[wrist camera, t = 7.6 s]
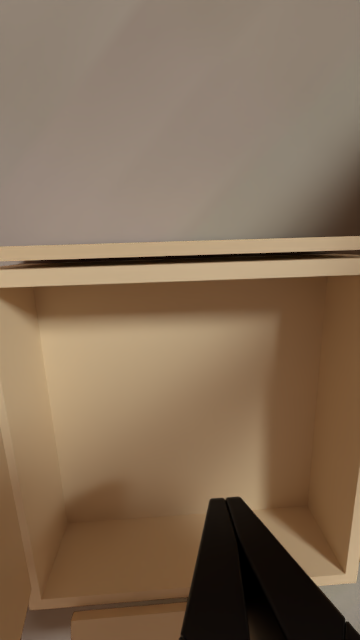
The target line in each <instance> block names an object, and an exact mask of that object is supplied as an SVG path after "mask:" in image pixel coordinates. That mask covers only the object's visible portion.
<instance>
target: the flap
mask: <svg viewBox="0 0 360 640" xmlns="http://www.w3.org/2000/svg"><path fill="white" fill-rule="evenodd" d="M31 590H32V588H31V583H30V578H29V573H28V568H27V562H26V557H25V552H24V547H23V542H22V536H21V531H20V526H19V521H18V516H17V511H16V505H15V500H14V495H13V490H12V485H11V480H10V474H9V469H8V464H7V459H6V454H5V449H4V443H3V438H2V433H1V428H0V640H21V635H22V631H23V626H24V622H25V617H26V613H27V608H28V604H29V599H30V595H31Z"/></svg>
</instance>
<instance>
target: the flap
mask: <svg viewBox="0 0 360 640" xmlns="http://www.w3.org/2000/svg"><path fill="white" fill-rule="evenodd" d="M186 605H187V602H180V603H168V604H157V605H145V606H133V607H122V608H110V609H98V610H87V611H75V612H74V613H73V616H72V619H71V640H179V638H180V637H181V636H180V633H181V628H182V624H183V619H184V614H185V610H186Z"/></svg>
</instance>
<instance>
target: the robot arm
mask: <svg viewBox="0 0 360 640" xmlns="http://www.w3.org/2000/svg"><path fill="white" fill-rule="evenodd" d="M180 636H181V637H180V638H179V640H360V635H359V633H358V632H357V631H356V630H355V629H354V628H353V626H352V625H351V624H350V623H349V622H346V623H345V618H344V616H343V615H342V614H341V613H340V612H339V610H338V609H337V608H336V607H335V606H334V605H333V603H332V602H331V601H330V600H329V599H328V598H327V597H326V595H325V594H324V593H323V592H322V591H321V590H320V588H319V587H318V586H317V585H316V584H315V583H314V581H313V580H312V579H311V578H310V577H309V576H308V575H307V573H306V572H305V571H304V570H303V569H302V568H301V566H300V565H299V564H298V563H297V562H296V561H295V559H294V558H293V557H292V556H291V555H290V554H289V553H288V551H287V550H286V549H285V548H284V547H283V546H282V544H281V543H280V542H279V541H278V540H277V539H276V537H275V536H274V535H273V534H272V533H271V532H270V531H269V529H268V528H267V527H266V526H265V525H264V524H263V522H262V521H261V520H260V519H259V518H258V517H257V515H256V514H255V513H254V512H253V511H252V510H251V509H250V507H249V506H248V505H247V504H246V503H245V502H244V500H243V499H242V498H241V497H238V496H237V497H227V498H226V499H224V498H211V499H210V500H209V504H208V509H207V513H206V518H205V522H204V527H203V532H202V536H201V541H200V545H199V550H198V555H197V559H196V564H195V568H194V573H193V578H192V582H191V587H190V591H189V596H188V601H187V605H186V610H185V614H184V619H183V624H182V628H181V633H180Z"/></svg>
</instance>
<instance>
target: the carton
mask: <svg viewBox="0 0 360 640" xmlns="http://www.w3.org/2000/svg"><path fill="white" fill-rule="evenodd" d="M337 250H360V236H343V237H310V238H277V239H243V240H210V241H176V242H143V243H109V244H76V245H42V246H9V247H0V261H25V260H57V259H88V258H119V257H150V256H181V255H212V254H244V253H275V252H306V251H337ZM0 428H1V433H2V438H3V443H4V449H5V454H6V459H7V464H8V469H9V474H10V480H11V485H12V490H13V495H14V500H15V505H16V511H17V516H18V521H19V526H20V531H21V536H22V542H23V547H24V552H25V557H26V562H27V568H28V573H29V578H30V583H31V588H32V590H31V595H30V599H29V608H30V610H42V609H53V608H65V607H77V606H89V605H100V604H112V603H124V602H136V601H147V600H159V599H171V598H183V597H188V596H189V591H190V587H191V582H192V578H193V573H194V568H195V564H196V559H197V555H198V550H199V545H200V541H201V536H202V532H203V527H204V522H205V518H206V513H207V509H208V504H209V500H210V499H211V498H224V499H226V498H227V497H237V496H238V497H241V498H242V499H243V500H244V502H245V503H246V504H247V505H248V506H249V507H250V509H251V510H252V511H253V512H254V513H255V514H256V515H257V517H258V518H259V519H260V520H261V521H262V522H263V524H264V525H265V526H266V527H267V528H268V529H269V531H270V532H271V533H272V534H273V535H274V536H275V537H276V539H277V540H278V541H279V542H280V543H281V544H282V546H283V547H284V548H285V549H286V550H287V551H288V553H289V554H290V555H291V556H292V557H293V558H294V559H295V561H296V562H297V563H298V564H299V565H300V566H301V568H302V569H303V570H304V571H305V572H306V573H307V575H308V576H309V577H310V578H311V579H312V580H313V581H314V583H315V584H316V585H317V586H324V585H336V584H347V583H356V580H357V573H358V566H359V562H360V255H353V254H308V255H277V256H247V257H216V258H185V259H155V260H124V261H93V262H63V263H32V264H17V265H9V266H1V267H0Z"/></svg>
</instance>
